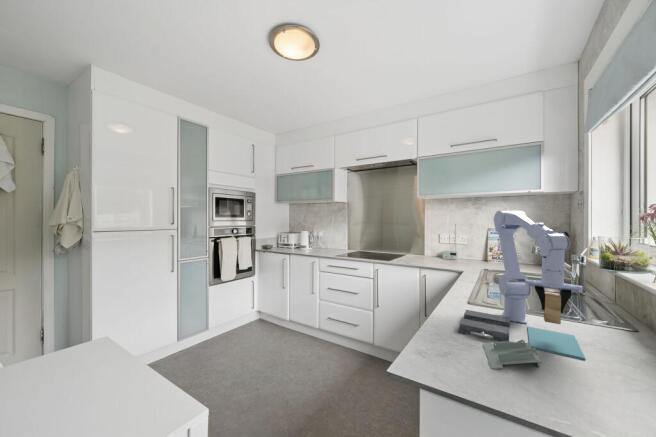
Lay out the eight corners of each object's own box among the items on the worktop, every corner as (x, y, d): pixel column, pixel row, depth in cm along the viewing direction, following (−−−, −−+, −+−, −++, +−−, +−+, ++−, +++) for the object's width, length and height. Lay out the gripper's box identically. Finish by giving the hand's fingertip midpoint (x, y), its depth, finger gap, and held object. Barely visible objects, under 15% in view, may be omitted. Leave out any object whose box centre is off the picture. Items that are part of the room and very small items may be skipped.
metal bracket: (527, 333, 84) (545, 357, 70) (533, 352, 84) (552, 380, 70) (476, 339, 89) (484, 362, 75) (482, 356, 89) (490, 383, 75)
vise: (466, 315, 114) (466, 308, 114) (509, 323, 105) (509, 316, 105) (457, 334, 96) (457, 326, 96) (508, 346, 88) (508, 337, 87)
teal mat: (527, 327, 101) (527, 326, 101) (574, 336, 94) (574, 335, 94) (529, 347, 87) (529, 345, 87) (585, 360, 79) (585, 358, 79)
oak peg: (543, 317, 93) (544, 291, 93) (559, 320, 91) (559, 293, 91) (544, 321, 90) (545, 294, 90) (560, 324, 87) (561, 296, 87)
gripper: (526, 269, 91) (525, 309, 91) (585, 274, 83) (584, 319, 83) (525, 265, 97) (524, 303, 97) (580, 270, 88) (579, 312, 89)
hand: (552, 310), depth 90 cm, fingers closed on oak peg, 4 cm apart
